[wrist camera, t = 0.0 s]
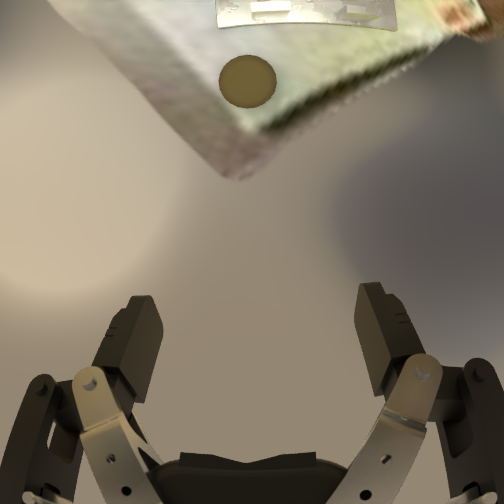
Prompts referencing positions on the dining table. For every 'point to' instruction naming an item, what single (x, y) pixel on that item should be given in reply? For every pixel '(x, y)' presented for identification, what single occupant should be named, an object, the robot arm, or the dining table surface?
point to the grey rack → (307, 12)
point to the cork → (247, 81)
